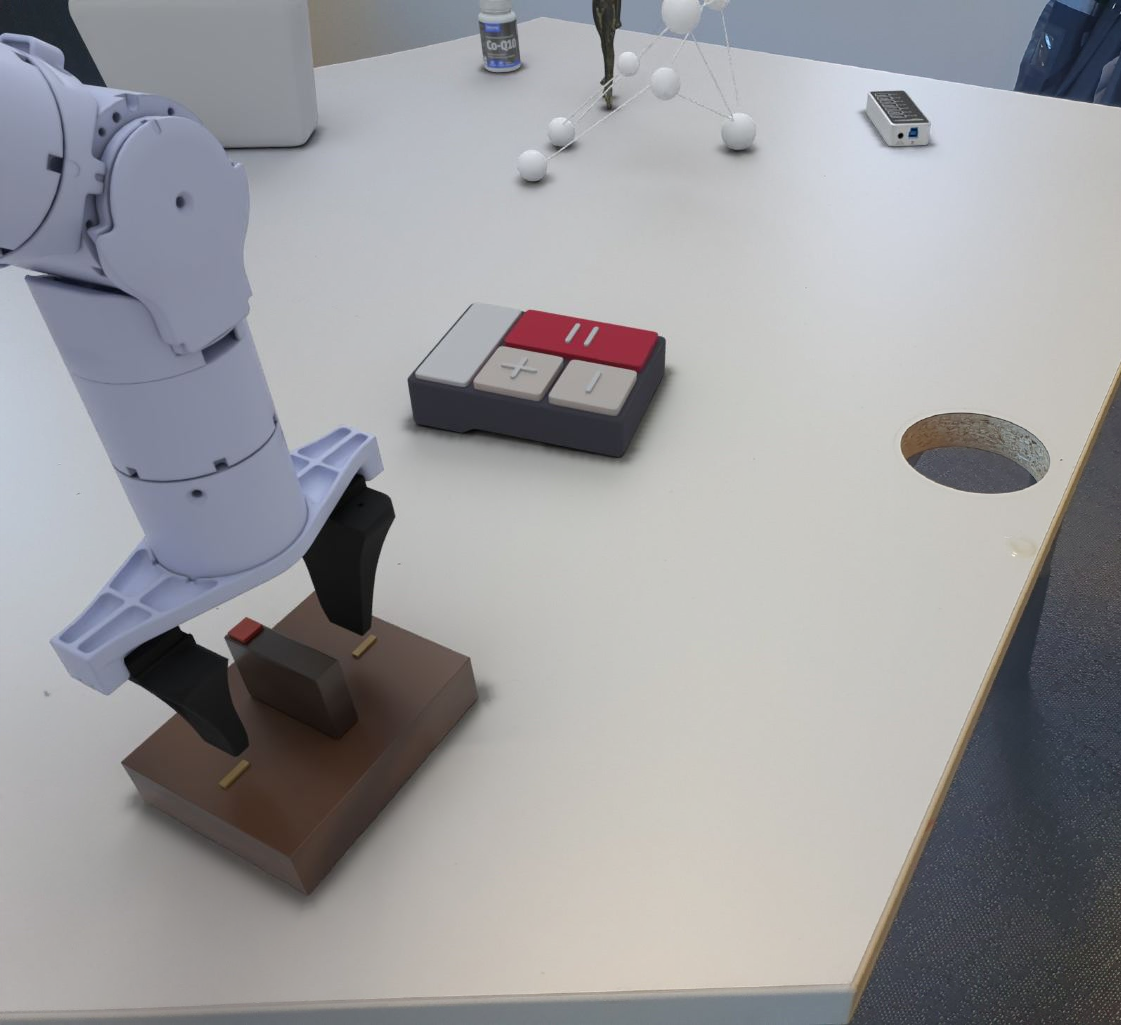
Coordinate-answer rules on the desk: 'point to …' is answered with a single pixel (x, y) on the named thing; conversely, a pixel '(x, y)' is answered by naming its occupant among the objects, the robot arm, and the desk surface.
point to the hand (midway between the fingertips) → (292, 680)
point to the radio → (211, 61)
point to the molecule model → (665, 84)
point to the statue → (607, 38)
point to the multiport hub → (898, 118)
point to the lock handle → (292, 677)
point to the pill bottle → (499, 36)
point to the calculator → (539, 378)
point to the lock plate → (310, 751)
